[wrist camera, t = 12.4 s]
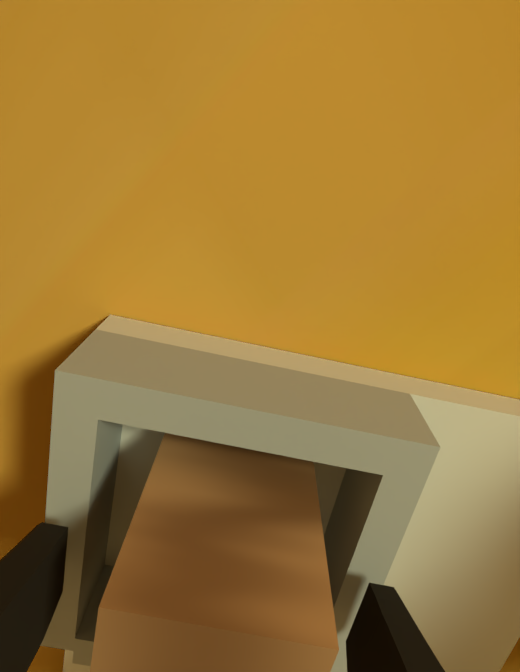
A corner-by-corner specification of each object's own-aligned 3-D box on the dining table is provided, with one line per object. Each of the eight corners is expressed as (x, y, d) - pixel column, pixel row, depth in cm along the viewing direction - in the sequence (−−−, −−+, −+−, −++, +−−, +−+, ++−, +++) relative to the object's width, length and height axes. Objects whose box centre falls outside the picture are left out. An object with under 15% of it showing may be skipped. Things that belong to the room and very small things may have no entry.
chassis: (606, 417, 14) (788, 561, 9) (420, 756, 20) (469, 955, 15) (110, 314, 14) (14, 410, 8) (69, 699, 20) (-2, 889, 15)
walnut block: (310, 443, 14) (339, 650, 8) (274, 561, 15) (276, 803, 10) (171, 415, 13) (98, 607, 8) (149, 538, 15) (76, 771, 9)
